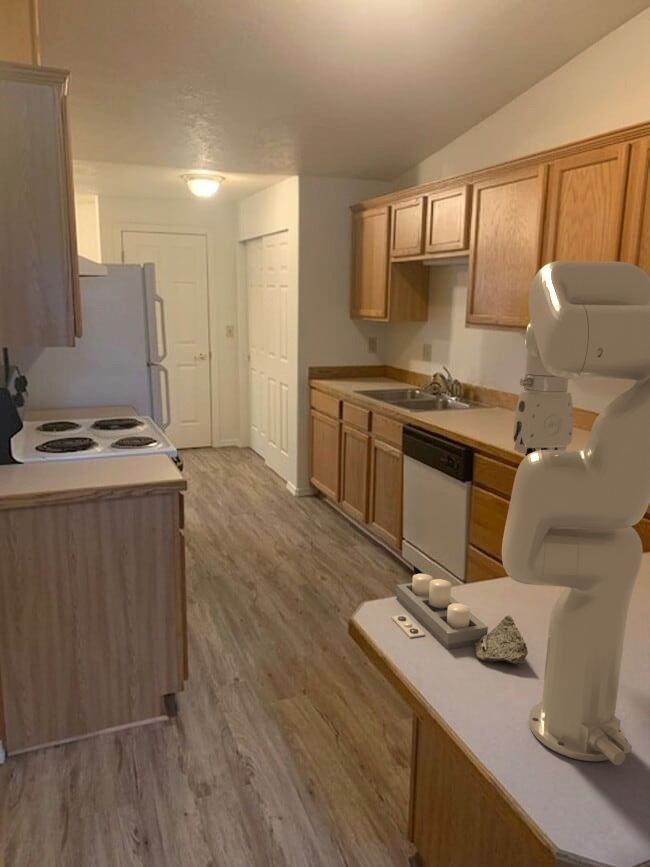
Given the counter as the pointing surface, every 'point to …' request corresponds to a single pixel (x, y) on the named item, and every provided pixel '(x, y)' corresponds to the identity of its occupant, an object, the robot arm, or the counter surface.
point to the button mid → (439, 593)
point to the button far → (421, 584)
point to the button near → (458, 616)
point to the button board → (440, 619)
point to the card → (407, 626)
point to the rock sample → (503, 644)
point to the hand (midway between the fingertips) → (537, 482)
